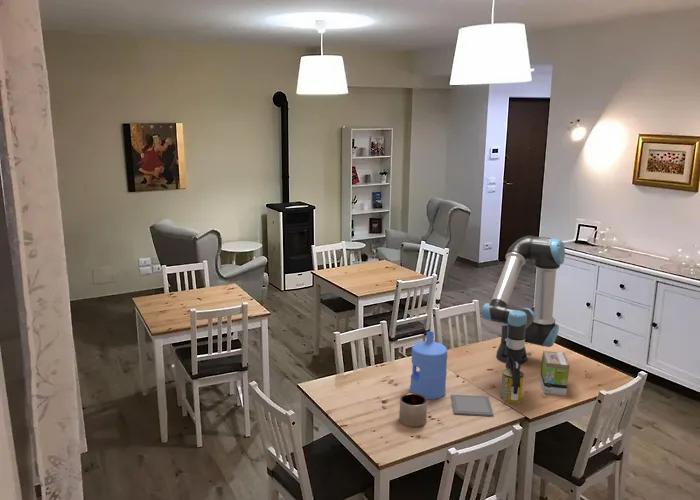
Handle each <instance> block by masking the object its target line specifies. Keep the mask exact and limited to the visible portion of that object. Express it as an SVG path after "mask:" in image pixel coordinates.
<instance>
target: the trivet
mask: <svg viewBox="0 0 700 500" xmlns="http://www.w3.org/2000/svg"><path fill="white" fill-rule="evenodd" d="M450 399H451V404H452V406H451V407H452V412H453V415H457V416H473V415H474V416H475V417H491V416H493V417H494V415H495V414H494V411H493V408H492V405H491V402H490V398H489V396H486V395H466V394H465V395H464V394H450Z"/></svg>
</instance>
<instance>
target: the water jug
mask: <svg viewBox="0 0 700 500" xmlns="http://www.w3.org/2000/svg"><path fill="white" fill-rule="evenodd" d="M434 334H435V333H434V331H427V332H426V340H424V341H420V342H417V343H415V344H413V345H412V346H411V364H412V367H411V368H412V370H411V372H412V373H411V375H410V385H409V387H410V388H409V390H410V391H409V392H410V393H416V394H420V395H423V396H424V397H426V399H427V400H437V399H440V398H442V397H443V396H445V394H446V388H447V387H446V384H447V383H446V381H447V363H448V348H447V347H446V346H445V345H444V344H443V343H439V342H437V341H435V338H434V337H435V336H434ZM417 368H418V369H419V370H417Z"/></svg>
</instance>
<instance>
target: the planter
mask: <svg viewBox="0 0 700 500" xmlns="http://www.w3.org/2000/svg"><path fill="white" fill-rule="evenodd" d="M427 408H428V399H426V397H424V396H423V395H420V394H416V393H411V392H410V393H405V394H402V395H401V396H400V399H399V412H398V415H399V416H398V417H399V418H398V419H399V421H400V423H401V424H402V425H404V426H407V427H410V428H418V427H422V426H423V425H425V424H426V423H427V414H428V412H427V410H428V409H427Z"/></svg>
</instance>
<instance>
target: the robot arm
mask: <svg viewBox="0 0 700 500" xmlns="http://www.w3.org/2000/svg"><path fill="white" fill-rule="evenodd" d="M565 249H566V248H565V244H564V241H562V240H561V239H558V238H553V237H545V236H544V237H543V236H536V235H535V236H534V235H526V236H523V237H520V238H519V239H516V241H514V243H512V244H511V246H509V248H508V249H507V252H506V254H505V263H504V265H503V267H502V271H501V273H500V276H499V278H498V282H497V284H496V287H495V290H494V291H493V292H494V293H493V295H492V298H491V300H490V302H486V303H484V305H483V306H482V307H481V317H482V319H483V320H485V321H486V320H487V321H489V322H495V323H500V324H501V336H500V337H501V338H500V344H499V346H498V347H497V350H496V355H495V356H496V359H497V360H498V361H500V362H502V363H505V369H511V371H512V381H513V385H511V386H512V391H511V400H518V391H519V387H520V371H521V365H522V364H525V363H526V362H528V353H527V350H526V345H525V344H526V343H527V344H532V345H536V346H541V347H546V348H551V347H553V346H554V344H555V342H556V341H557V340H556V339H557V337H558V333H559V330H560V329H559V324H557V323H556V319H555V318H554V316H553V311H554V302H555V301H554V299H555V290H556V289H555V287H556V273H557V270H558V269H560V267H561V265H563V263H564V262H565V257H566V255H565V254H566V250H565ZM527 261H532V262H533V265H534V267H535V269H536V278H535V279H536V280H535V291H534V292H535V294H534V308H533V310H532V309H531V308H528V307H524V308H523V307H522V308H521V309H520V308H514V307H509V306H508V305H509V303H510V300H511V297H512V294H513V292H514V289H515V287H516V284H517V280H518V277H519V275H520V272H521V269H522V267H523V266H524V265H525V264H526V263H527Z"/></svg>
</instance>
